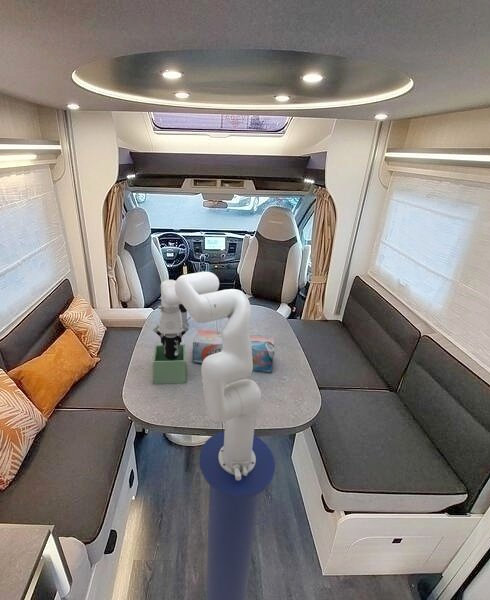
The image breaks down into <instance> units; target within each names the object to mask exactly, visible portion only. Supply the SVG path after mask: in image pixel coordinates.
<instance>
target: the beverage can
mask: <svg viewBox="0 0 490 600" xmlns="http://www.w3.org/2000/svg"><path fill="white" fill-rule="evenodd" d="M164 352H165V357H166V358H167V359H169V360H174V359H176V358H177V357H178V356H179V343H178V333H176V334H164Z"/></svg>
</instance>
